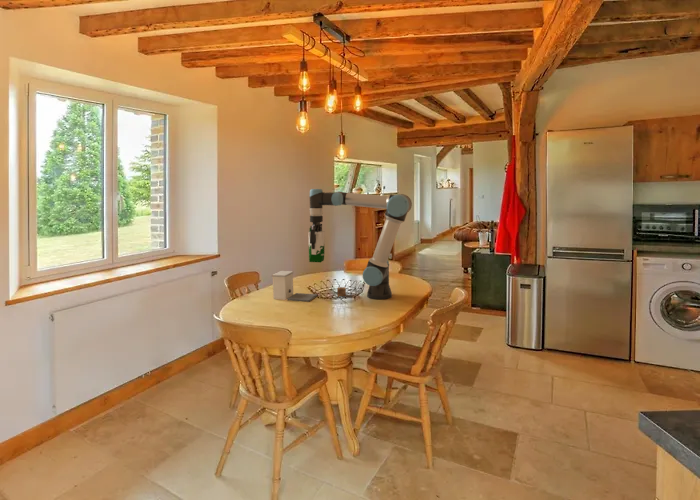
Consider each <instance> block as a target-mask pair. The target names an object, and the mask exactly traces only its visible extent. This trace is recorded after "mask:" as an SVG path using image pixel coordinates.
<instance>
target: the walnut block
mask: <svg viewBox="0 0 700 500" xmlns="http://www.w3.org/2000/svg"><path fill="white" fill-rule="evenodd" d="M336 295H337V298H340V297H339V296H346V297H347V288H346V287H344V286H340V287H339V286H338V287H337V294H336Z"/></svg>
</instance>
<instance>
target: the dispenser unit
mask: <svg viewBox="0 0 700 500" xmlns="http://www.w3.org/2000/svg"><path fill="white" fill-rule="evenodd" d="M293 274H294V271H292V270H279V271H278V272H276V273H273V274H271V277H272V292H273V294H272V295H273V296H272V297H273V300H281V301H282V300H284V301H285V300H287V299H288V298H289V297H291V296H292V295H294V294H295V293H294V275H293Z"/></svg>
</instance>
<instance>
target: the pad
mask: <svg viewBox="0 0 700 500" xmlns="http://www.w3.org/2000/svg"><path fill="white" fill-rule="evenodd" d="M293 294H294V295H292V296H291V297H289V298H288V299H286V300H287V301H292V302H307V303H309V302H311V301H313V300H314V298H317V297H318V294H317V293H301V292H296V293H293Z"/></svg>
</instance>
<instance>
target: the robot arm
mask: <svg viewBox="0 0 700 500" xmlns="http://www.w3.org/2000/svg"><path fill="white" fill-rule="evenodd" d="M412 204H413V202H412V199H411V198H410V197H409V196H408V195H407V194H403V193H399V194H389V195H380V194H379V195H378V194H369V193H368V194H367V193H356V192H355V193H354V192H346V191H345V192H343V191H335V192H331V191H330V192H325V191H324V192H323V189H322V188H311V189H310V190H309V215H310V216H309V222H310V223H312V225H310V227H309V231H310V229H311V231H310V243H311V252H312V254H313V255H316V234H315V232H318V231H323V224H322V223H323V220H324V219H323V213H324V212H323V211H324V210H323V206H335V207H336V206H337V207H338V206H351V207H352V206H354V207H364V208H373V209H374V208H375V209H384V210H385V212H384V217H385V221H384V224H383V227H382V229H381V233H380V236H379V238H378V241H377V243H376V247H375V249H374V252H373V256H372V257H371V258H369V259H368V262H367V264H366V267H365V268H364V270H363V272H362V279H363V282H364V283H365V284H367V285H368V290H367V292H366V296H367V298H369V299H373V300H388V299H391V298H392V296H393V293H392V292H393V291H392V289H391V287H390V263H389V262H390V261H389V257H390V254H391V251H392V248H393V245H394V243H395V240H396V238H397V235H398V232H399V229H400V227H401V224H402V223H404V222H405V221H406V217H407V216H408V213H409V212H410V210H411V209H412V206H413V205H412Z"/></svg>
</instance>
